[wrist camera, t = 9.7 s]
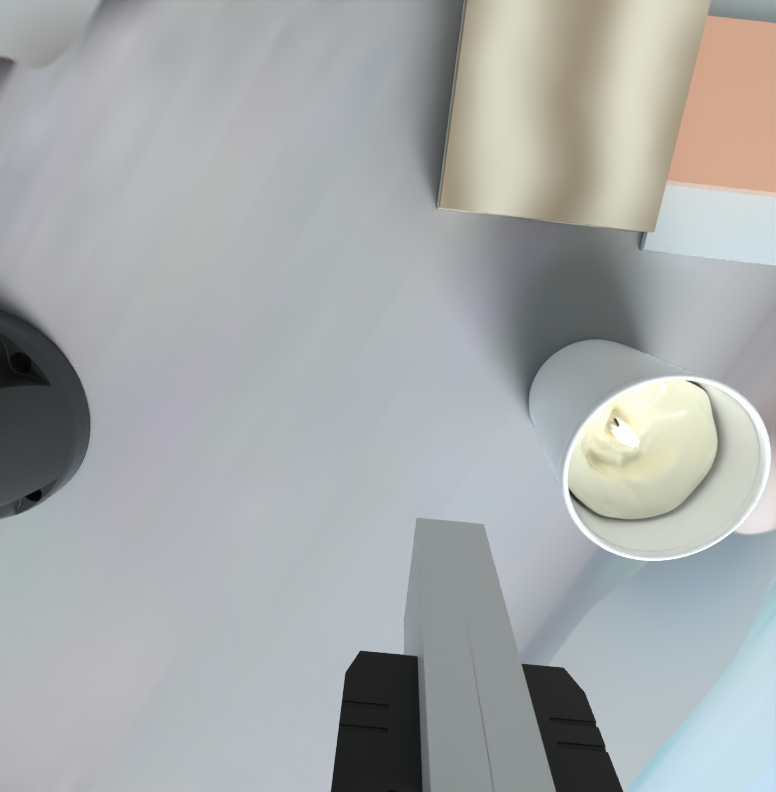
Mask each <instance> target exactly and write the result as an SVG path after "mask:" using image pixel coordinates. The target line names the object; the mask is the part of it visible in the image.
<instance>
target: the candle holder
mask: <svg viewBox="0 0 776 792" xmlns="http://www.w3.org/2000/svg"><path fill="white" fill-rule="evenodd" d="M529 412H530V417H531V421H532V424H533V426H534V429H535V432H536V434H537V436H538V439H539V441H540V443H541V446H542V448H543V450H544V453H545V455H546V457H547V460H548V462H549V464H550V467H551V469H552V471H553V474H554V476H555V478H556V480H557V483H558V485H559V487H560V490H561V492H562V496H563V499H564V502H565V505H566V508H567V510H568V512H569V514H570V516H571V517H572V519H573V521H574V522H575V524H576V525H577V526H578V527H579V529H580V530H581V531H582V532H583V533H584V534H585V535H586V536H587V537H588V538H589V539H591V540H592V541H593V542H595V543H596V544H597V545H599V546H601V547H602V548H604V549H606V550H608V551H610V552H612V553H615V554H618V555H621V556H624V557H628V558H632V559H638V560H654V561H656V560H669V559H675V558H680V557H684V556H687V555H691V554H694V553H696V552H699V551H701V550H704V549H706V548H708V547H710V546H712V545H714V544H715V543H717V542H719V541H720V540H722V539H723V538H725V537H726V536H727V535H729V534H730V533H731V532H733V531H734V530H735V529H736V528H737V527H738V526H739V525H740V524H741V523H742V522H743V521H744V520H745V519H746V518H747V516H748V515H749V514H750V513H751V511H752V510H753V509H754V507H755V506H756V504H757V502H758V501H759V499H760V497H761V495H762V493H763V490H764V488H765V485H766V482H767V479H768V475H769V470H770V462H771V449H770V442H769V437H768V433H767V430H766V427H765V425H764V422H763V420H762V418H761V417H760V415H759V413H758V412H757V410H756V409H755V408H754V406H753V405H752V404H751V403H750V402H749V401H748V400H747V399H746V398H745V397H744V396H743V395H742V394H741V393H739V392H738V391H737V390H735V389H734V388H732V387H730V386H729V385H727V384H725V383H723V382H721V381H719V380H716V379H714V378H711V377H708V376H704V375H700V374H697V373H694V372H692V371H689V370H687V369H684V368H682V367H679V366H677V365H674V364H672V363H669V362H667V361H664V360H662V359H659V358H657V357H654V356H652V355H649V354H647V353H644V352H642V351H639V350H637V349H634V348H631V347H629V346H626V345H623V344H620V343H617V342H614V341H609V340H601V339H592V340H584V341H579V342H576V343H573V344H570V345H568V346H566V347H564V348H562V349H560V350H559V351H557V352H556V353H554V354H553V355H552V356H551V357H550V358H549V359H548V360H547V361H546V362H545V363H544V364H543V365H542V366H541V368H540V369H539V371H538V372H537V374H536V376H535V378H534V380H533V382H532V385H531V389H530V393H529Z"/></svg>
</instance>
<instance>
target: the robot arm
mask: <svg viewBox="0 0 776 792" xmlns="http://www.w3.org/2000/svg"><path fill="white" fill-rule="evenodd" d="M89 437H90V417H89V410H88V405H87V401H86V397H85V394H84V391H83V389H82V386H81V384H80V382H79V380H78V378H77V376H76V374H75V372H74V370H73V369H72V367H71V366H70V364H69V363H68V361H67V360H66V359H65V357H64V356H63V355H62V354H61V352H60V351H59V350H58V349H57V348H56V347H55V346H54V345H53V344H52V343H51V342H50V341H49V340H48V339H47V338H46V337H45V336H44V335H42V334H41V333H40V332H39V331H37V330H36V329H35V328H33V327H32V326H30V325H29V324H27V323H26V322H24V321H22V320H20V319H19V318H17V317H15V316H13V315H10V314H8V313H6V312H3V311H1V310H0V519H3V518H6V517H10V516H14V515H17V514H20V513H22V512H25V511H27V510H29V509H31V508H33V507H35V506H37V505H39V504H40V503H42V502H43V501H45V500H46V499H48V498H49V497H50V496H51V495H53V494H54V493H55V492H57V491H58V490H59V489H61V488H62V487H63V486H64V485H65V484H67V483H68V482H69V481H70V480H71V478H72V477H73V476H74V475H75V473H76V472H77V470H78V469H79V467H80V465H81V464H82V462H83V459H84V457H85V454H86V451H87V448H88V443H89ZM331 792H623V790H622V787H621V785H620V782H619V780H618V777H617V775H616V772H615V769H614V767H613V764H612V762H611V759H610V756H609V754H608V752H606V750H605V744H604V741H603V738H602V736H601V733H600V731H599V728H598V727H596V721H595V718H594V715H593V713H592V710H591V707H590V705H589V702H588V700H587V697H586V695H585V693H584V691H583V690H582V689H581V688H580V687H579V685H578V684H577V683H576V682H575V681H574V680H573V678H572V677H571V676H570V675H569V674H568V672H567V671H566V670H565V669H564V668H560V667H550V666H539V665H529V664H521V661H520V657H519V653H518V650H517V646H516V642H515V638H514V635H513V631H512V627H511V624H510V620H509V616H508V613H507V609H506V605H505V601H504V598H503V594H502V590H501V587H500V583H499V579H498V575H497V572H496V568H495V564H494V561H493V557H492V553H491V550H490V546H489V542H488V538H487V535H486V531H485V527H484V524H476V523H466V522H455V521H445V520H434V519H423V518H417V519H416V527H415V536H414V544H413V552H412V560H411V568H410V576H409V584H408V592H407V601H406V609H405V617H404V655H400V654H389V653H379V652H368V651H360V652H359V654H358V655H357V657H356V658H355V660H354V661H353V662H352V664H351V665H350V667H349V668H348V670H347V671H346V673H345V681H344V690H343V698H342V706H341V714H340V722H339V730H338V738H337V747H336V755H335V763H334V771H333V779H332V787H331Z"/></svg>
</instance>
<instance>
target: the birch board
mask: <svg viewBox="0 0 776 792" xmlns="http://www.w3.org/2000/svg"><path fill="white" fill-rule="evenodd" d="M710 3H711V0H464V3H463V11H462V19H461V26H460V34H459V41H458V49H457V57H456V64H455V72H454V79H453V87H452V95H451V102H450V110H449V117H448V125H447V133H446V140H445V148H444V156H443V163H442V171H441V178H440V186H439V194H438V201H437V209H443V210H452V211H460V212H469V213H477V214H486V215H494V216H503V217H511V218H520V219H528V220H537V221H545V222H553V223H562V224H570V225H579V226H587V227H596V228H604V229H613V230H621V231H633V232H655V228H656V223H657V219H658V215H659V211H660V207H661V203H662V199H663V195H664V191H665V187H666V183H667V178H668V174H669V170H670V166H671V162H672V158H673V154H674V150H675V146H676V142H677V138H678V134H679V129H680V125H681V121H682V117H683V113H684V109H685V105H686V101H687V97H688V93H689V89H690V85H691V80H692V76H693V72H694V68H695V64H696V60H697V56H698V52H699V48H700V44H701V40H702V35H703V31H704V27H705V23H706V19H707V15H708V11H709V7H710Z"/></svg>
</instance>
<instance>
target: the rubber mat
mask: <svg viewBox="0 0 776 792" xmlns="http://www.w3.org/2000/svg"><path fill="white" fill-rule="evenodd" d="M707 16H716V17H725V18H734V19H743V20H752V21H761V22H770V23H776V0H711V3H710V7H709V11H708V15H707ZM640 250H647V251H656V252H664V253H673V254H681V255H690V256H698V257H707V258H715V259H724V260H732V261H741V262H749V263H758V264H766V265H775V266H776V197H769V196H760V195H751V194H742V193H733V192H724V191H715V190H706V189H697V188H688V187H679V186H670V185H666V187H665V191H664V195H663V199H662V203H661V207H660V211H659V215H658V219H657V223H656V228H655V232H644V233H643V237H642V241H641V246H640Z"/></svg>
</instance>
